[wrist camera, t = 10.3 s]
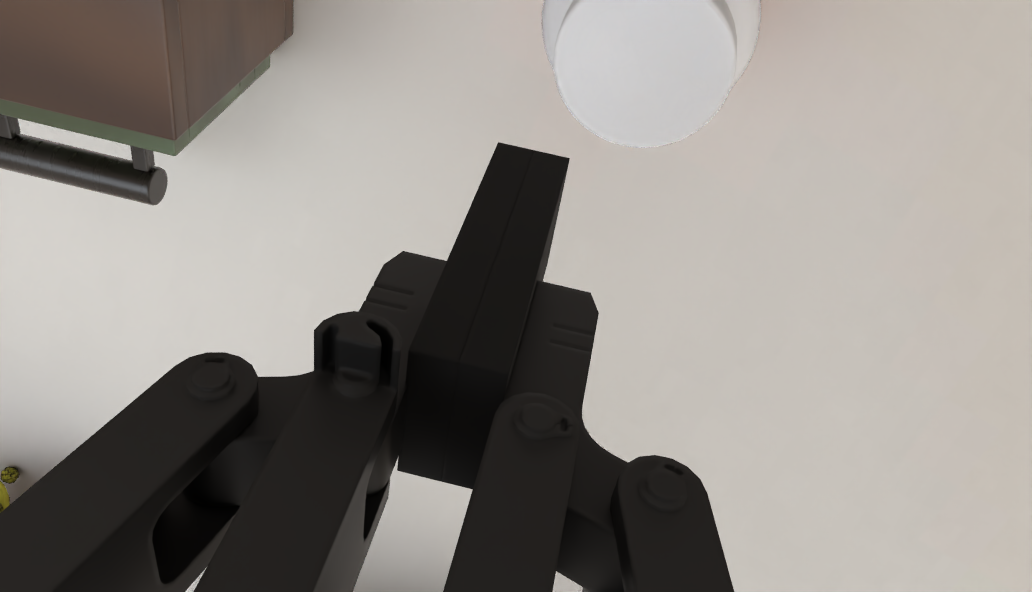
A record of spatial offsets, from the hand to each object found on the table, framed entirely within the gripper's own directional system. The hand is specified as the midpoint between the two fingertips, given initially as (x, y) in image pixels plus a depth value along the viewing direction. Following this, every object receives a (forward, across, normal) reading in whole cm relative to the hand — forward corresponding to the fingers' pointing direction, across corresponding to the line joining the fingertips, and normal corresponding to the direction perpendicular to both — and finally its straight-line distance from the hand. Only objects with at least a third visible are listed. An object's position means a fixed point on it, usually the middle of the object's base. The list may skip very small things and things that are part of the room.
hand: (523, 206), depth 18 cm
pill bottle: (+17, +2, +1) cm, 17 cm away
